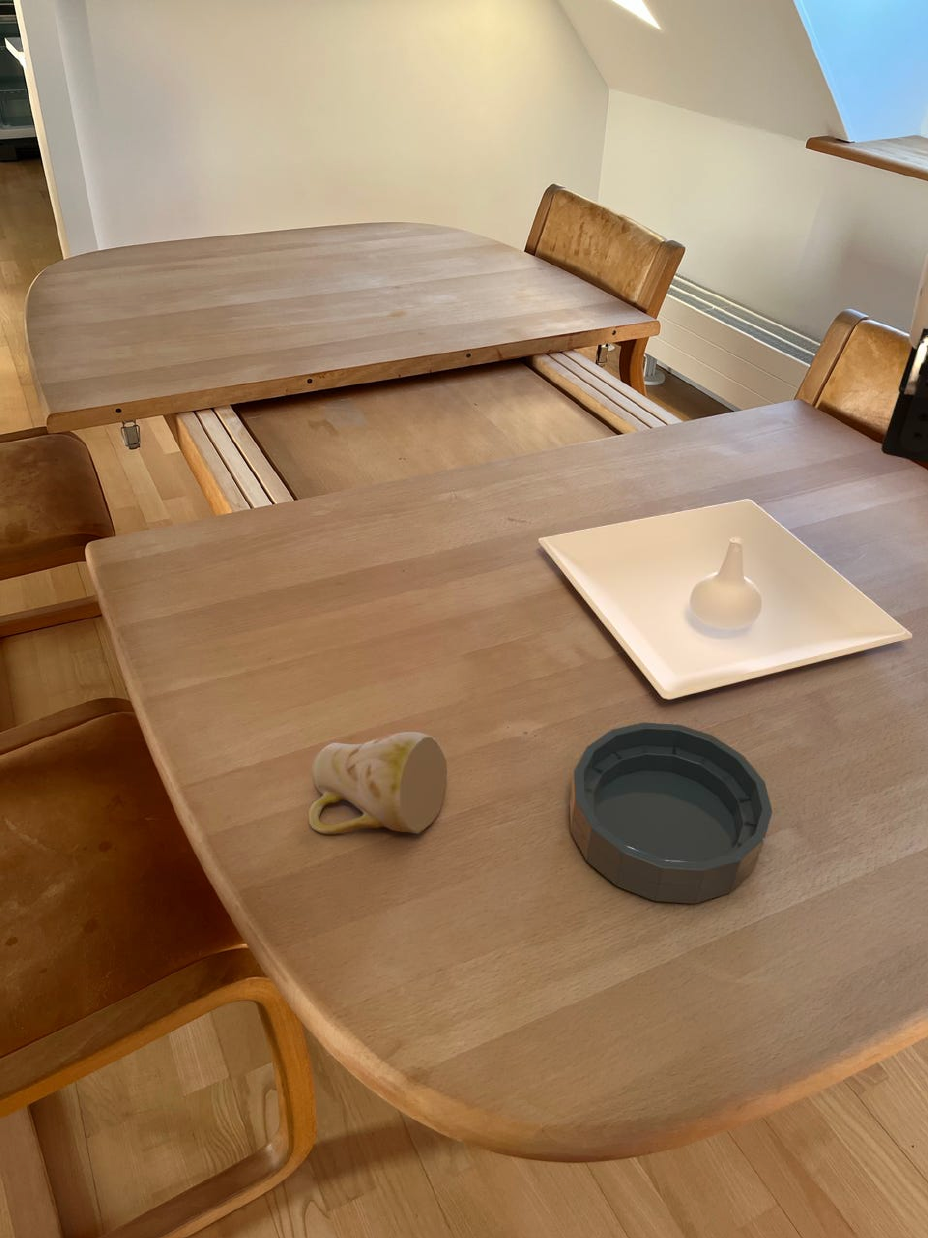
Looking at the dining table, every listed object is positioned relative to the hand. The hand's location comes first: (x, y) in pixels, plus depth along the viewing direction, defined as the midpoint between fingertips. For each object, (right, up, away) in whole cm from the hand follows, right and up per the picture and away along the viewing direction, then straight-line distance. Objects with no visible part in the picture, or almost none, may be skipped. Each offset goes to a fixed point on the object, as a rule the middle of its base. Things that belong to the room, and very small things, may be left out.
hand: (915, 424), depth 59 cm
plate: (-4, -11, +33) cm, 35 cm away
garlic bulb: (-5, -12, +27) cm, 30 cm away
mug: (-35, -27, +11) cm, 46 cm away
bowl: (-14, -28, +10) cm, 33 cm away
